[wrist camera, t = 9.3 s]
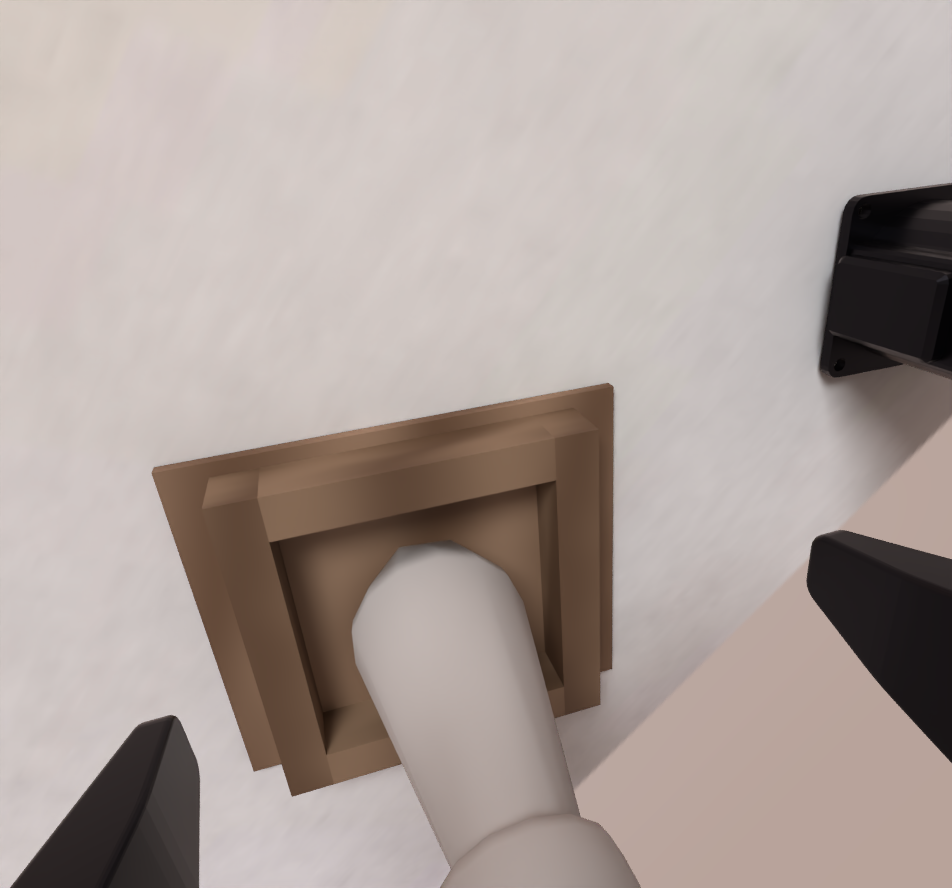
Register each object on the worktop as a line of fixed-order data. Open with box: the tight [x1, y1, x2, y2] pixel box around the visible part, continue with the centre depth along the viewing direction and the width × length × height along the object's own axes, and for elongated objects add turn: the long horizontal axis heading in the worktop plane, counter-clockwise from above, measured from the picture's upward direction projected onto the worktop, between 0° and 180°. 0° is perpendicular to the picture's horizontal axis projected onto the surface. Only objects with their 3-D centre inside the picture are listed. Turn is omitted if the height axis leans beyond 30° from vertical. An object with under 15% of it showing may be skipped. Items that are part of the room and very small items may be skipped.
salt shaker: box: [352, 540, 641, 888], centre depth 18 cm, size 6×6×13 cm
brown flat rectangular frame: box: [152, 383, 613, 796], centre depth 23 cm, size 15×13×2 cm
